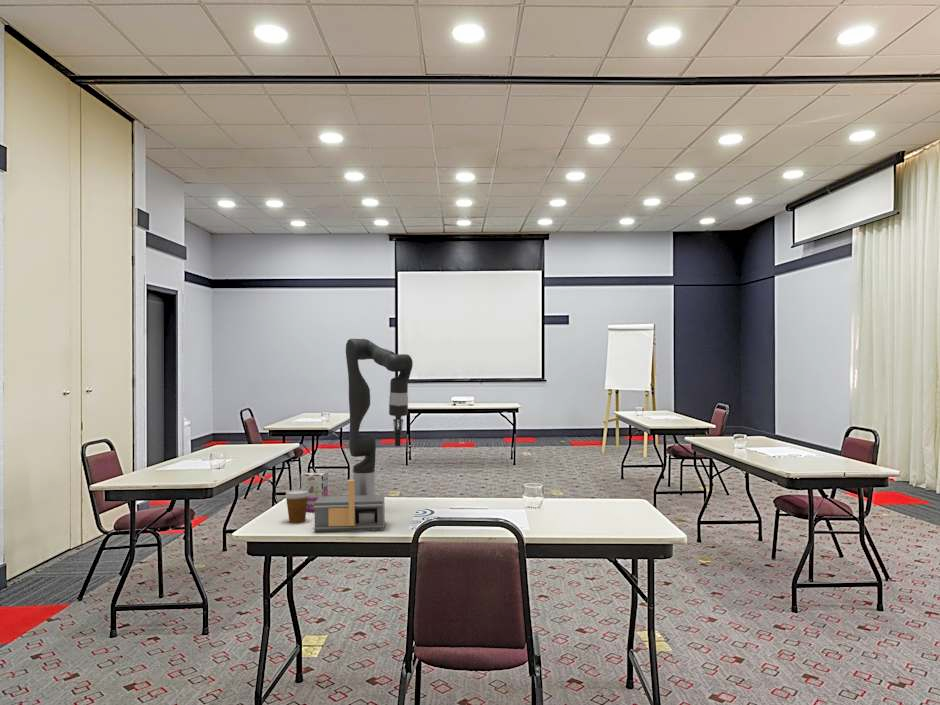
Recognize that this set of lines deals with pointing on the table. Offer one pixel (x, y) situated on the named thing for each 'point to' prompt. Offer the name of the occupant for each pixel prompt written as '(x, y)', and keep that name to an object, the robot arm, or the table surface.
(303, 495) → the disposable coffee cup
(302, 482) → the candy bar box
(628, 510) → the table surface
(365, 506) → the case
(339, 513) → the side door
